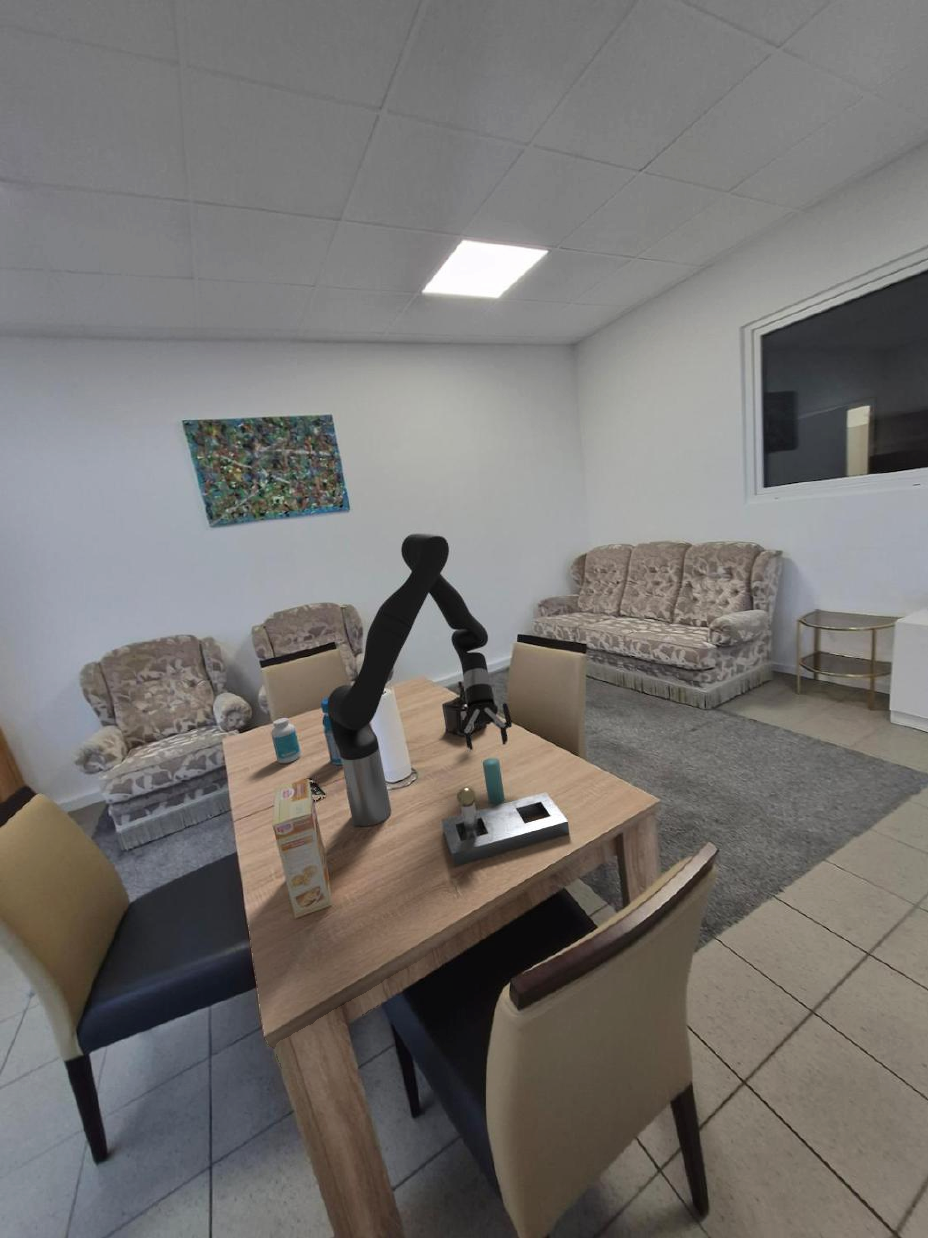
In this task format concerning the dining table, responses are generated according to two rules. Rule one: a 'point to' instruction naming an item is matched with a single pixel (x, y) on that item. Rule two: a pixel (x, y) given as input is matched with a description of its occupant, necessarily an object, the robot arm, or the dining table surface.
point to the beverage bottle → (330, 736)
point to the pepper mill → (450, 713)
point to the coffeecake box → (301, 848)
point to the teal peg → (493, 781)
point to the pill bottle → (285, 741)
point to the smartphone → (318, 790)
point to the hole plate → (500, 826)
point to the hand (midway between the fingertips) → (487, 746)
